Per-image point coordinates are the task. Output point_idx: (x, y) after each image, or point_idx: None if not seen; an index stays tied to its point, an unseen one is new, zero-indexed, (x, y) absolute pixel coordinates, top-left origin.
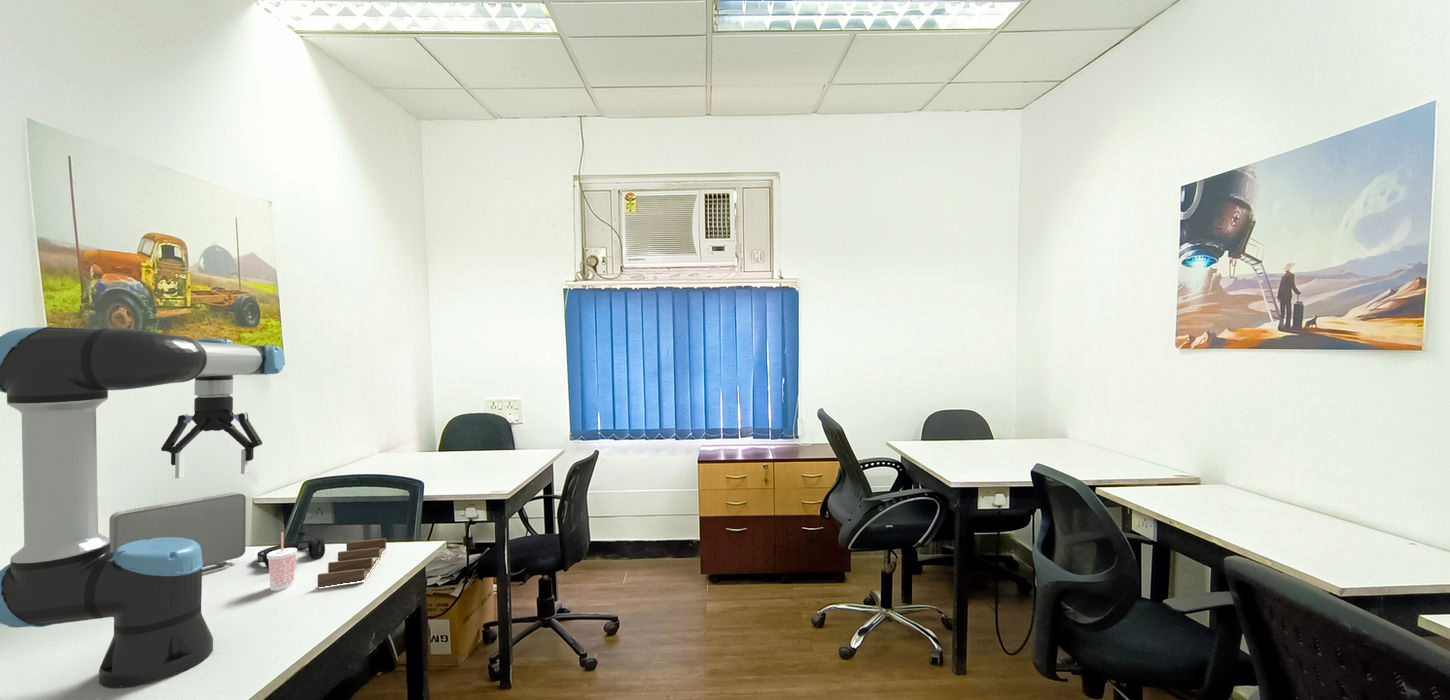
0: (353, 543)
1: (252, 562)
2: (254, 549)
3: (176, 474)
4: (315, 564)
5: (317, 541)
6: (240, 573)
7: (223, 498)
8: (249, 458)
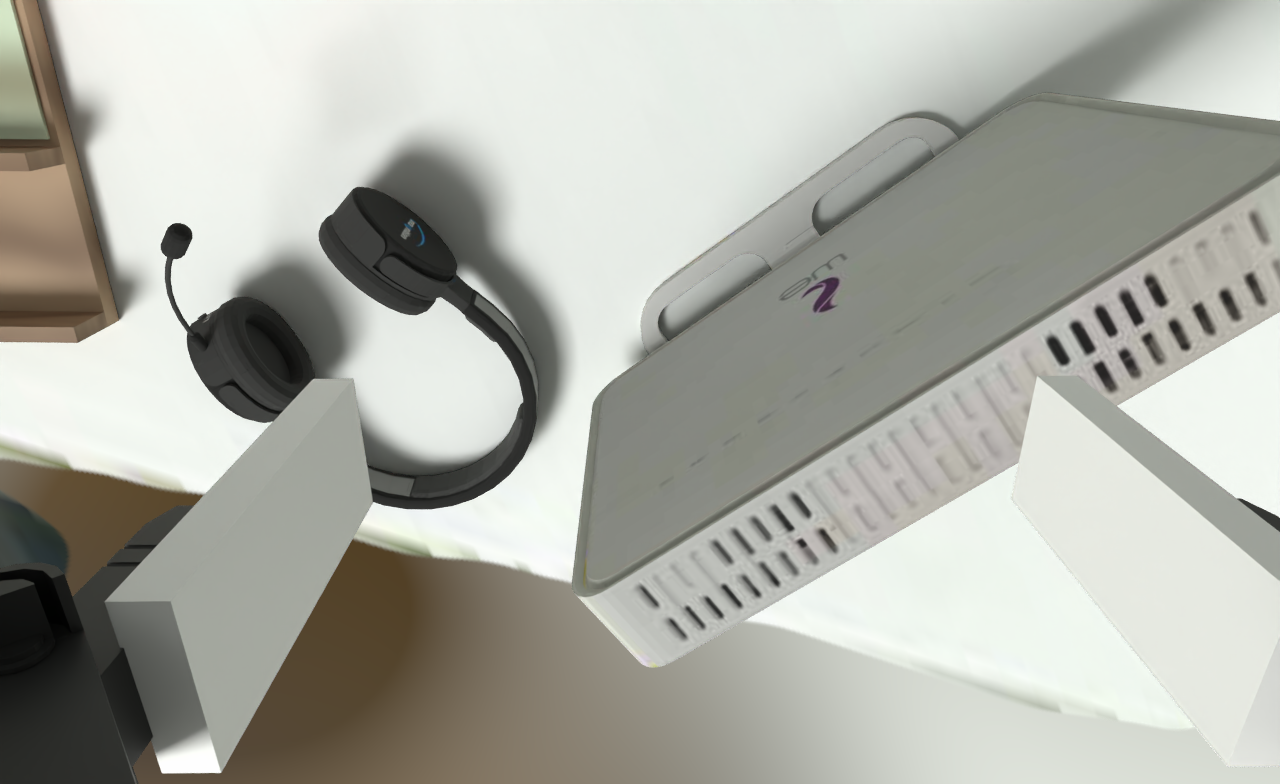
0: (41, 324)
1: (559, 363)
2: None
3: (1091, 396)
4: (212, 208)
5: (214, 349)
6: (544, 208)
7: (688, 529)
8: (168, 530)
